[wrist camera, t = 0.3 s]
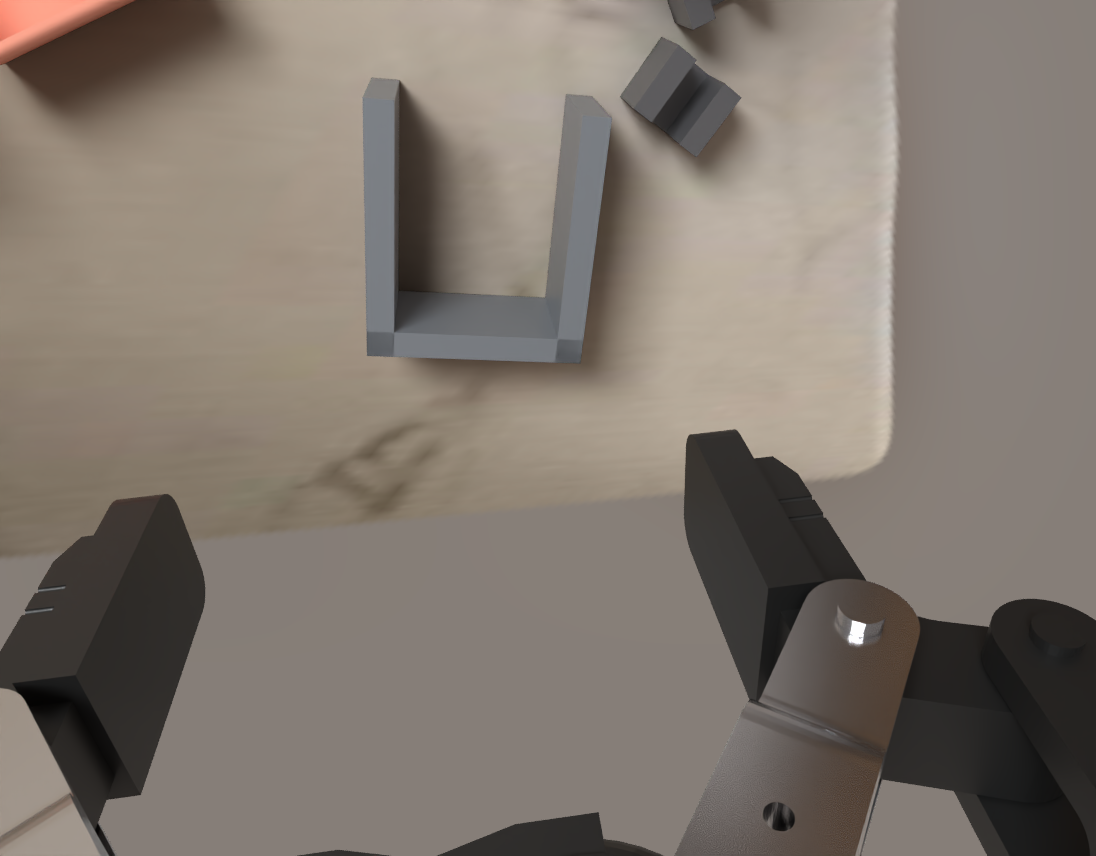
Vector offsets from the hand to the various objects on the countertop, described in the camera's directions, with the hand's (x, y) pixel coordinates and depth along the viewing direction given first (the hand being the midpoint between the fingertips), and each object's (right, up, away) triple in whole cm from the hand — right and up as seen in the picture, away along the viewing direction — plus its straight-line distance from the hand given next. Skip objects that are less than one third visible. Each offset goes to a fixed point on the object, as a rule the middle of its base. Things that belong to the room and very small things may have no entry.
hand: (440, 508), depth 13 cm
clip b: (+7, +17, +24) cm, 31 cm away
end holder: (-2, +12, +26) cm, 29 cm away
